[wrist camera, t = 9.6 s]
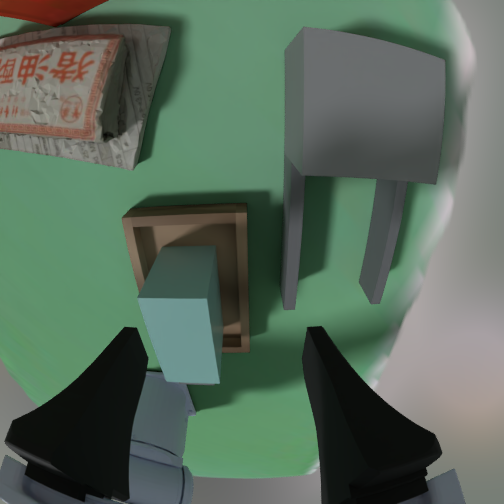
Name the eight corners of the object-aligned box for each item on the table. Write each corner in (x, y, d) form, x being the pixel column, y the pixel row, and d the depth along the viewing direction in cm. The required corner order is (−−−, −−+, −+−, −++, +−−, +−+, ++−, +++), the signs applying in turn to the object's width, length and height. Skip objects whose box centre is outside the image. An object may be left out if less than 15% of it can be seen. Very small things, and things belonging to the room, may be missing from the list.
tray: (249, 337, 26) (249, 352, 24) (161, 336, 26) (157, 350, 24) (246, 202, 19) (246, 212, 18) (130, 208, 19) (121, 218, 18)
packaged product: (-51, 157, 11) (-37, 41, 7) (-17, 143, 16) (-1, 41, 11) (114, 186, 14) (155, 9, 9) (142, 167, 18) (176, 30, 14)
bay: (367, 281, 23) (394, 329, 18) (279, 285, 23) (289, 340, 18) (393, 66, 14) (445, 60, 9) (284, 50, 14) (303, 27, 9)
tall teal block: (224, 338, 25) (221, 393, 20) (181, 337, 25) (170, 391, 20) (216, 245, 20) (206, 298, 15) (161, 246, 20) (137, 297, 15)
